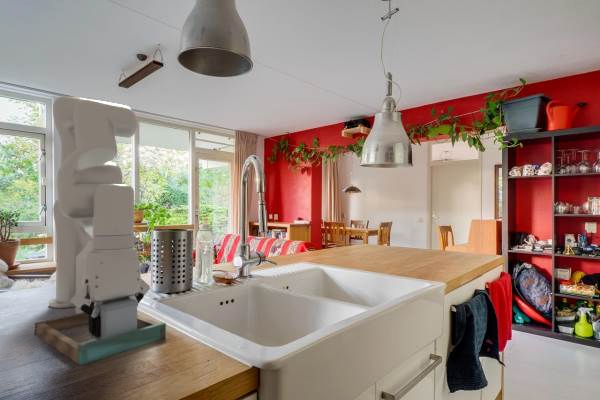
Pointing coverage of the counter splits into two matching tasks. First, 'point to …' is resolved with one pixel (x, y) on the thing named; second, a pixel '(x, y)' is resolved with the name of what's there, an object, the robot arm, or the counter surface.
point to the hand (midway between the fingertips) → (112, 329)
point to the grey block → (117, 317)
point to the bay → (95, 348)
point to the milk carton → (82, 270)
